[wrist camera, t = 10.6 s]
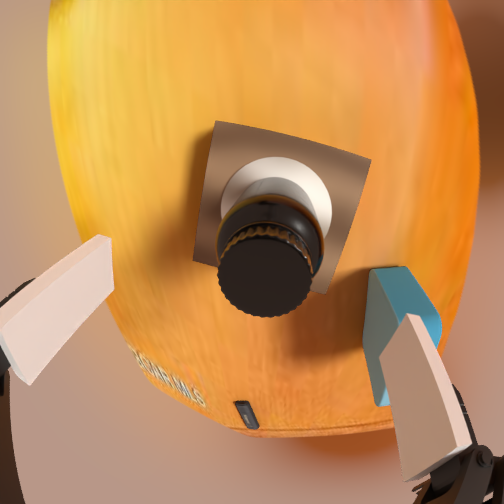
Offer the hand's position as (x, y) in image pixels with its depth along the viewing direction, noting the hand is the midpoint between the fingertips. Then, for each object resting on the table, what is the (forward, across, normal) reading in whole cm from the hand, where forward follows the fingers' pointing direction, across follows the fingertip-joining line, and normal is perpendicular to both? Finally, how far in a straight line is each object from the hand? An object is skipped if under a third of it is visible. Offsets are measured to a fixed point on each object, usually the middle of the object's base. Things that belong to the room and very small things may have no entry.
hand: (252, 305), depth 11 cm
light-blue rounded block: (+19, +16, -10) cm, 27 cm away
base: (+19, 0, -1) cm, 19 cm away
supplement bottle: (+15, 0, -1) cm, 15 cm away
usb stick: (+19, +5, -39) cm, 44 cm away
